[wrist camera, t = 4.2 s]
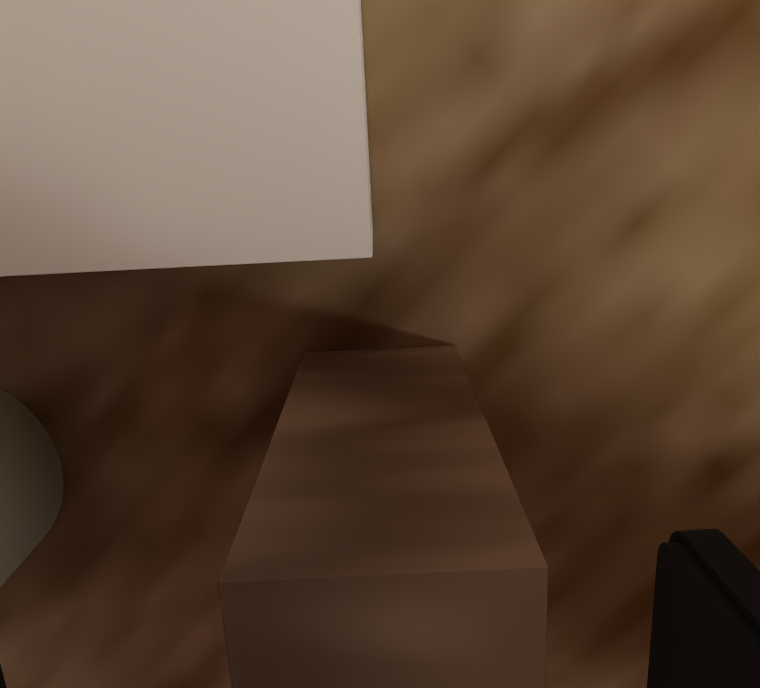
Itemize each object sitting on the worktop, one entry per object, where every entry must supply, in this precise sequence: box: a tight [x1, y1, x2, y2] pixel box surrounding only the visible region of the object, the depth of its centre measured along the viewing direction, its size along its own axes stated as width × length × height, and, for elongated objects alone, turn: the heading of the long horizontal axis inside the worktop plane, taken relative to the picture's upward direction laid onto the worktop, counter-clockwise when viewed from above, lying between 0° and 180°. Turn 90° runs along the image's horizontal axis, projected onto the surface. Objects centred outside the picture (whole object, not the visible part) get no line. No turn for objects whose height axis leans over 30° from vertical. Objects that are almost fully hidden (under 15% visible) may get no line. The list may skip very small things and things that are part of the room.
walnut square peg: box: [218, 345, 548, 688], centre depth 13 cm, size 4×4×10 cm
